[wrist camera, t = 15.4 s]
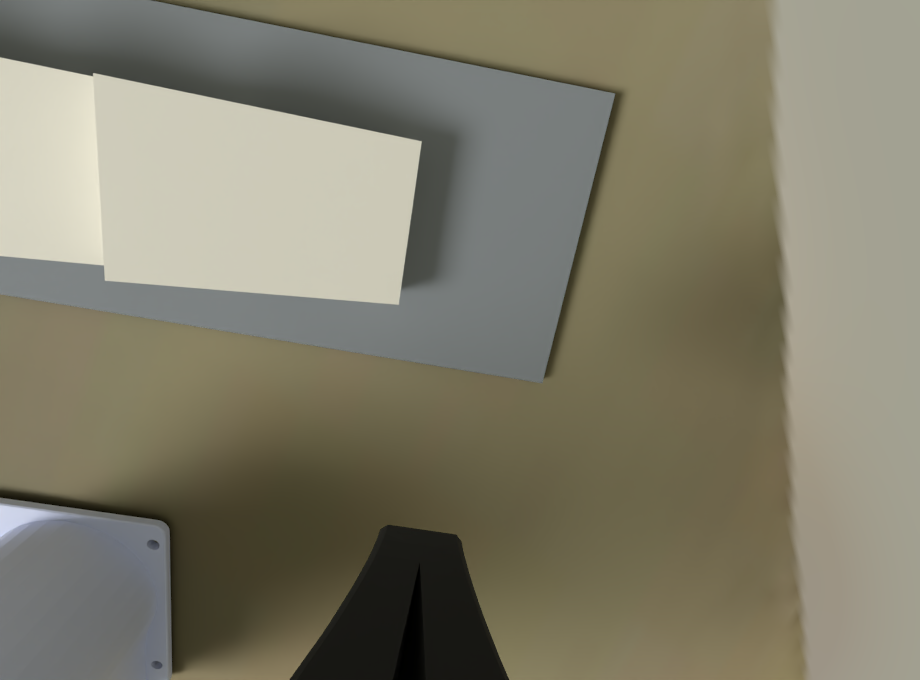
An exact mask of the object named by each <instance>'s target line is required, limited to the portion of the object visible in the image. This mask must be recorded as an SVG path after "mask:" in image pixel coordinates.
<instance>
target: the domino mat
mask: <svg viewBox="0 0 920 680" xmlns="http://www.w3.org/2000/svg"><path fill="white" fill-rule="evenodd" d="M0 57H1V58H5V59H10V60H15V61H20V62H25V63H30V64H35V65H40V66H44V67H49V68H54V69H59V70H64V71H69V72H74V73H79V74H83V75H88V76H93V73H96V74H100V75H105V76H110V77H115V78H120V79H124V80H129V81H134V82H139V83H144V84H148V85H153V86H158V87H163V88H168V89H172V90H177V91H182V92H187V93H192V94H197V95H201V96H206V97H211V98H216V99H221V100H225V101H230V102H235V103H240V104H245V105H249V106H254V107H259V108H264V109H269V110H273V111H278V112H283V113H288V114H293V115H297V116H302V117H307V118H312V119H317V120H321V121H326V122H331V123H336V124H341V125H346V126H350V127H355V128H360V129H365V130H370V131H374V132H379V133H384V134H389V135H394V136H398V137H403V138H408V139H413V140H418V141H422V143H421V150H420V157H419V164H418V172H417V179H416V186H415V193H414V200H413V207H412V214H411V221H410V228H409V235H408V242H407V249H406V256H405V264H404V271H403V278H402V285H401V292H400V299H399V305H396V304H383V303H371V302H359V301H347V300H335V299H322V298H310V297H298V296H286V295H273V294H261V293H249V292H237V291H225V290H212V289H200V288H188V287H176V286H163V285H151V284H139V283H127V282H115V281H105V275H104V265H93V264H82V263H71V262H60V261H50V260H39V259H28V258H17V257H6V256H0V294H2V295H8V296H14V297H20V298H27V299H33V300H39V301H45V302H51V303H57V304H63V305H69V306H75V307H81V308H87V309H94V310H100V311H106V312H112V313H118V314H124V315H130V316H136V317H142V318H148V319H154V320H160V321H167V322H173V323H179V324H185V325H191V326H197V327H203V328H209V329H215V330H221V331H227V332H234V333H240V334H246V335H252V336H258V337H264V338H270V339H276V340H282V341H288V342H294V343H300V344H307V345H313V346H319V347H325V348H331V349H337V350H343V351H349V352H355V353H361V354H367V355H374V356H380V357H386V358H392V359H398V360H404V361H410V362H416V363H422V364H428V365H434V366H440V367H447V368H453V369H459V370H465V371H471V372H477V373H483V374H489V375H495V376H501V377H507V378H514V379H520V380H526V381H532V382H538V383H542V382H543V378H544V374H545V371H546V367H547V363H548V359H549V355H550V351H551V347H552V343H553V339H554V335H555V331H556V327H557V323H558V319H559V315H560V311H561V307H562V303H563V299H564V295H565V291H566V287H567V283H568V279H569V275H570V271H571V267H572V263H573V259H574V255H575V251H576V248H577V244H578V240H579V236H580V232H581V228H582V224H583V220H584V216H585V212H586V208H587V204H588V200H589V196H590V192H591V188H592V184H593V180H594V176H595V172H596V168H597V164H598V160H599V156H600V152H601V148H602V144H603V140H604V136H605V132H606V128H607V125H608V121H609V117H610V113H611V109H612V105H613V101H614V97H615V93H610V92H605V91H600V90H595V89H590V88H585V87H580V86H575V85H570V84H565V83H560V82H555V81H550V80H545V79H540V78H535V77H530V76H526V75H521V74H516V73H511V72H506V71H501V70H496V69H491V68H486V67H481V66H476V65H471V64H466V63H461V62H456V61H451V60H446V59H441V58H436V57H431V56H426V55H421V54H416V53H411V52H406V51H401V50H396V49H391V48H386V47H381V46H376V45H371V44H366V43H361V42H356V41H351V40H346V39H341V38H336V37H331V36H326V35H321V34H316V33H311V32H306V31H301V30H296V29H291V28H286V27H281V26H276V25H271V24H266V23H262V22H257V21H252V20H247V19H242V18H237V17H232V16H227V15H222V14H217V13H212V12H207V11H202V10H197V9H192V8H187V7H182V6H177V5H172V4H167V3H162V2H157V1H152V0H0Z"/></svg>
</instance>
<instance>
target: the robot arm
mask: <svg viewBox="0 0 920 680" xmlns="http://www.w3.org/2000/svg"><path fill="white" fill-rule="evenodd" d="M154 540H155V541H157V542H158V543H157V542H155V541H154ZM171 677H172V638H171V577H170V530H169V527H168V526H167V524H166V523H164V522H163V521H160V520H154V519H147V518H140V517H133V516H126V515H119V514H112V513H105V512H98V511H91V510H84V509H77V508H70V507H63V506H55V505H48V504H41V503H34V502H27V501H20V500H13V499H6V498H0V680H170V679H171ZM290 680H509V678H508V676H507V674H506V671H505V669H504V667H503V664H502V662H501V660H500V657H499V655H498V652H497V650H496V647H495V645H494V642H493V639H492V637H491V634H490V632H489V629H488V627H487V624H486V622H485V619H484V616H483V614H482V611H481V608H480V605H479V602H478V599H477V596H476V593H475V590H474V587H473V584H472V581H471V578H470V574H469V571H468V568H467V564H466V560H465V556H464V552H463V548H462V543H461V540H460V539H459V538H458V536H457V535H455V534H448V533H441V532H434V531H427V530H420V529H413V528H406V527H399V526H392V525H387V526H385V527H383V528H382V529H380V532H379V535H378V538H377V541H376V543H375V545H374V547H373V550H372V552H371V554H370V556H369V558H368V560H367V562H366V564H365V566H364V567H363V569H362V571H361V573H360V574H359V576H358V578H357V580H356V582H355V583H354V585H353V587H352V588H351V590H350V592H349V593H348V595H347V596H346V598H345V600H344V601H343V603H342V604H341V606H340V607H339V609H338V611H337V612H336V614H335V615H334V617H333V619H332V620H331V622H330V623H329V625H328V626H327V628H326V629H325V631H324V632H323V634H322V635H321V637H320V638H319V639H318V641H317V642H316V644H315V645H314V646H313V648H312V649H311V651H310V652H309V653H308V655H307V656H306V658H305V659H304V660H303V662H302V663H301V665H300V666H299V667H298V669H297V670H296V672H295V673H294V674H293V676H292V677H291V678H290Z"/></svg>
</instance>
